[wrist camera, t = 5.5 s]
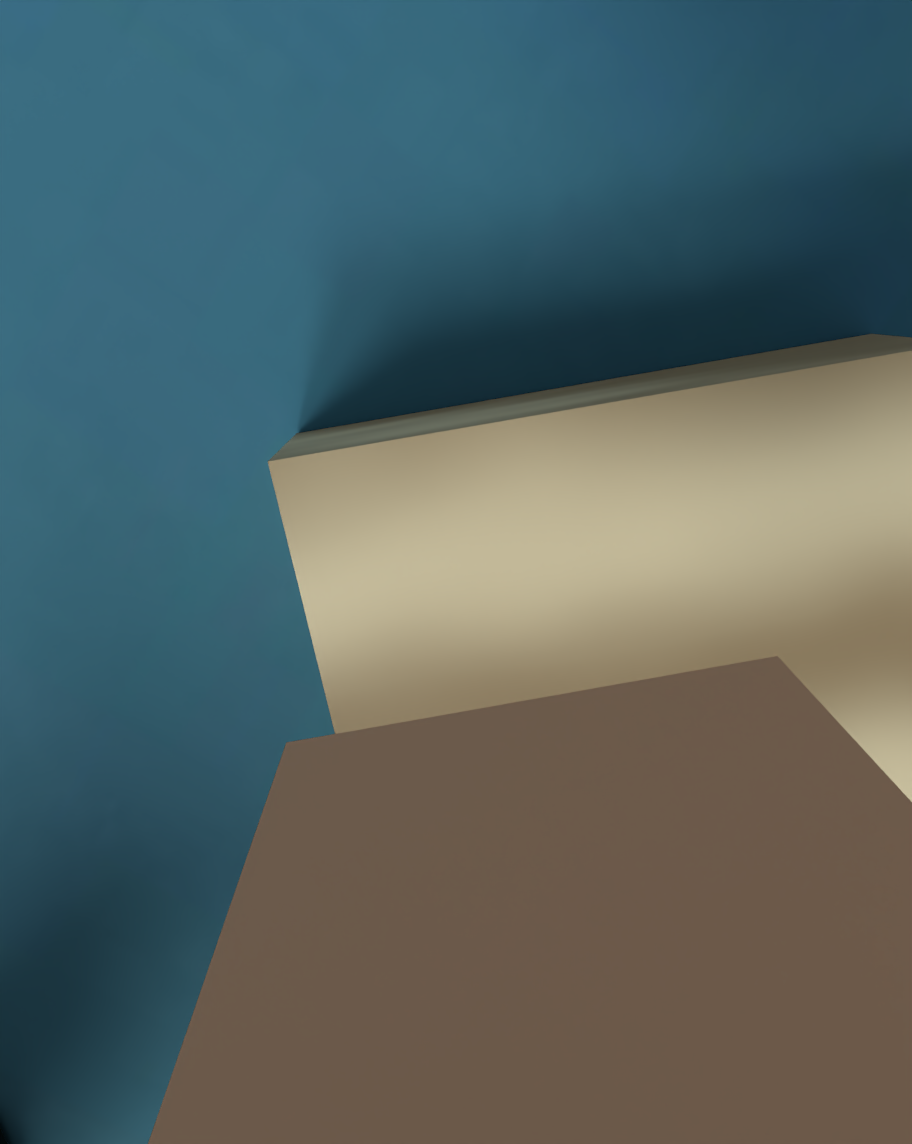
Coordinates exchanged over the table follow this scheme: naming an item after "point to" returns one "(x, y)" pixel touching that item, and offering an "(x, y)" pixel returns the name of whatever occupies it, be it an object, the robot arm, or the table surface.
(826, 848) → the terracotta block
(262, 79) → the table surface
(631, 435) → the birch base
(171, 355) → the table surface
